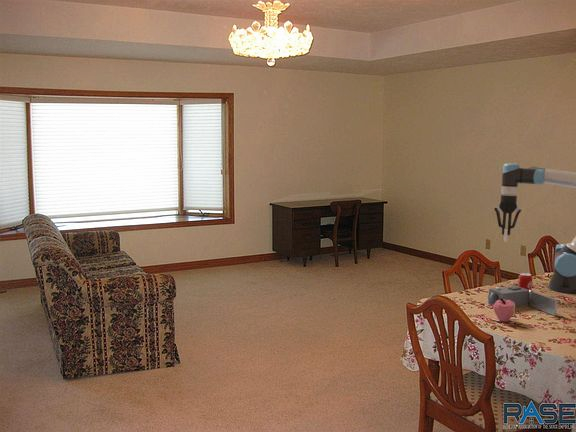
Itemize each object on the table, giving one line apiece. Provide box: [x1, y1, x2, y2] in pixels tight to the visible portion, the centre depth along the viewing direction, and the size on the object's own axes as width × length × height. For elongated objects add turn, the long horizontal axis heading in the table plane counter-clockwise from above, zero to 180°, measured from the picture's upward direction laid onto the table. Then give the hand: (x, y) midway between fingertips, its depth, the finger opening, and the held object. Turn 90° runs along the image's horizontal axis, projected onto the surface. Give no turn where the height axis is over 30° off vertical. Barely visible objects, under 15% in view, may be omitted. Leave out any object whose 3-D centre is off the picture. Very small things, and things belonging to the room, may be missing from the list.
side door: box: [527, 289, 558, 317], centre depth 277 cm, size 16×2×7 cm, turn 20°
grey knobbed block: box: [487, 285, 529, 308], centre depth 285 cm, size 18×9×8 cm, turn 113°
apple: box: [493, 298, 516, 323], centre depth 261 cm, size 10×9×10 cm
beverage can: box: [517, 272, 533, 290], centre depth 296 cm, size 6×6×12 cm
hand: (505, 241), depth 310 cm, fingers closed
